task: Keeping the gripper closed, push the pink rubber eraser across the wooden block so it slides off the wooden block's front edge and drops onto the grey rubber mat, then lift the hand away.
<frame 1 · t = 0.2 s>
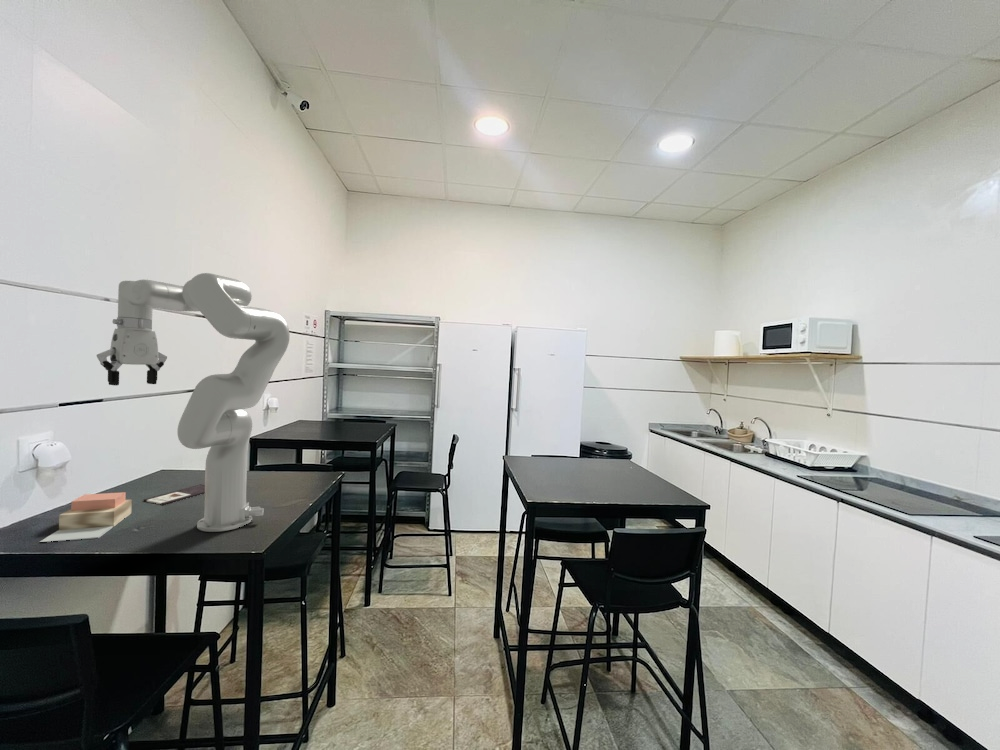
hand: (133, 384, 123), 36 cm above the table, tool pointing down, fingers open, 9 cm apart
chocolate bar: (183, 496, 138), on the table
mat: (77, 534, 105), on the table
pink rubber eraser: (99, 505, 115), point 4 cm above the table, touching wooden block
wooden block: (97, 521, 114), on the table
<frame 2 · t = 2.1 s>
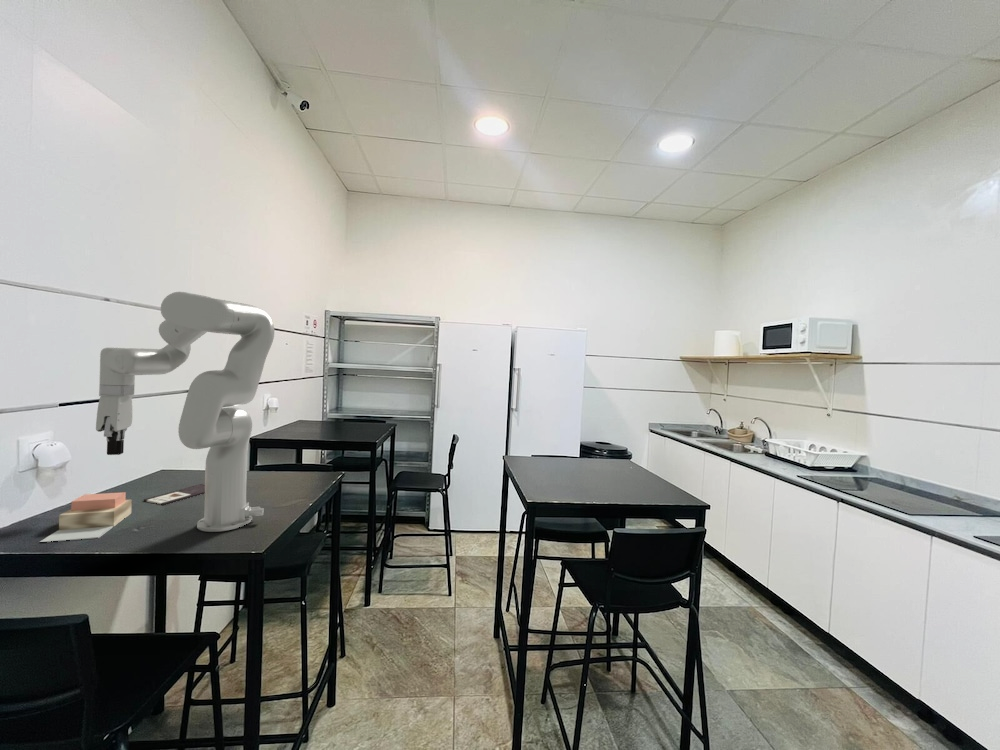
hand: (115, 454, 123), 16 cm above the table, tool pointing down, fingers closed
nothing on the table moved.
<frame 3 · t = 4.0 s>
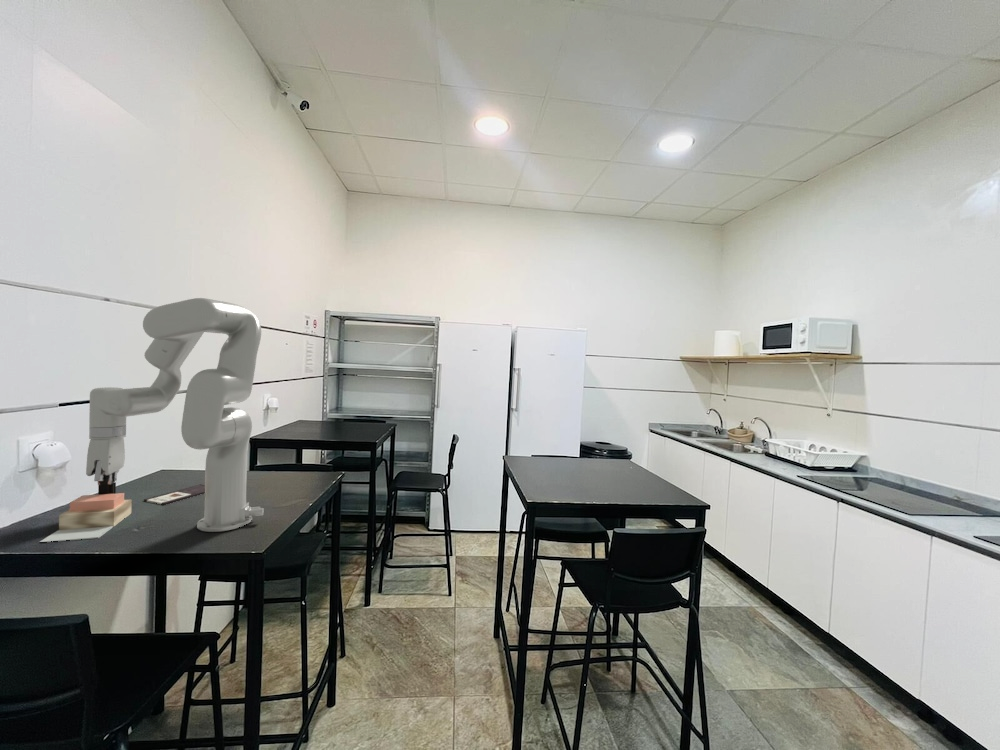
hand: (107, 497, 118), 5 cm above the table, tool pointing down, fingers closed
pink rubber eraser: (97, 506, 114), point 4 cm above the table, touching wooden block, gripper
everything else where it was.
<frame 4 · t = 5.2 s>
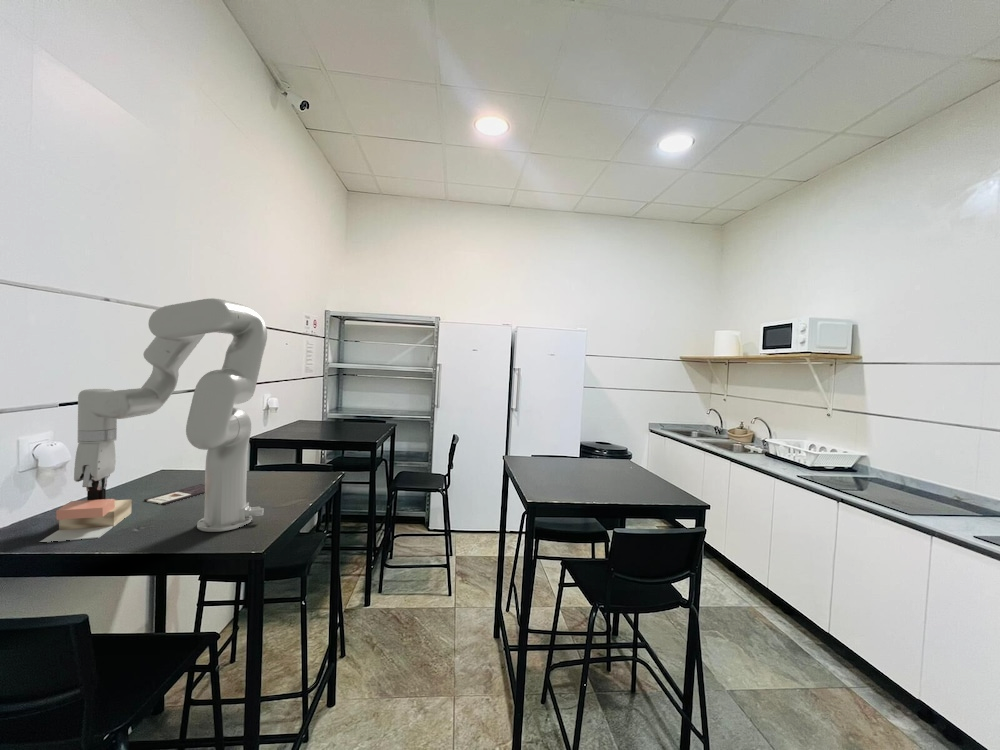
hand: (96, 504, 113), 5 cm above the table, tool pointing down, fingers closed
pink rubber eraser: (86, 513, 109), point 4 cm above the table, touching gripper
everything else where it was.
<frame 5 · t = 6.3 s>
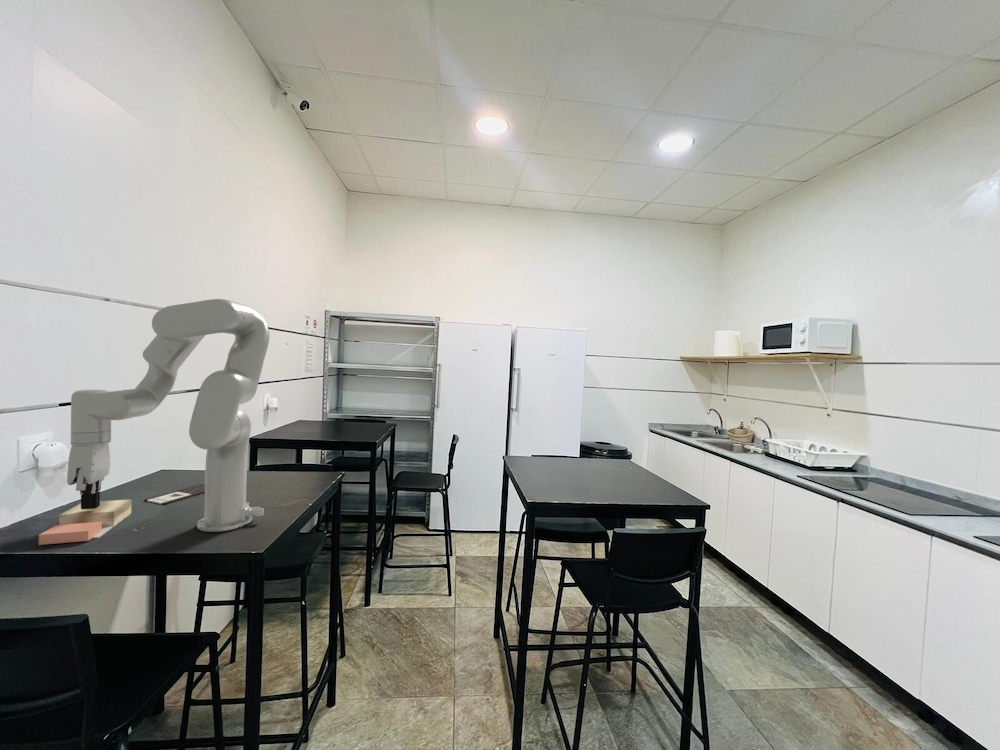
hand: (90, 507, 110), 5 cm above the table, tool pointing down, fingers closed
pink rubber eraser: (71, 527, 103), point 3 cm above the table, tilted 180°, touching mat
everything else where it was.
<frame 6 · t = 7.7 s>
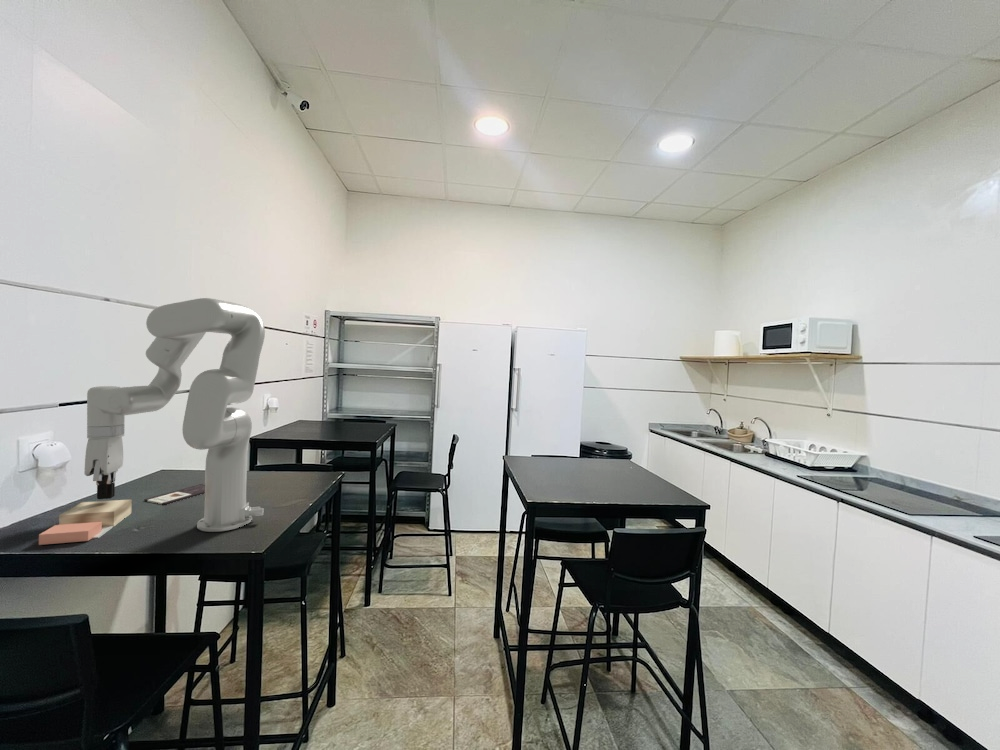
hand: (105, 497, 117), 5 cm above the table, tool pointing down, fingers closed
nothing on the table moved.
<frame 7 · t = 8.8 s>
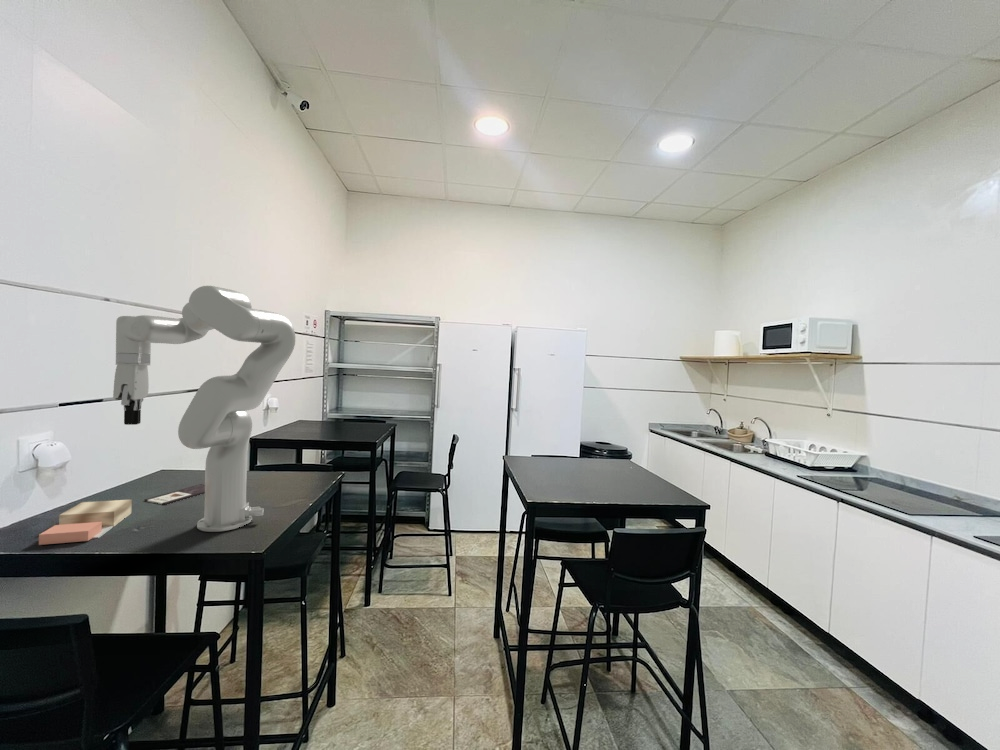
hand: (132, 423, 122), 25 cm above the table, tool pointing down, fingers closed
nothing on the table moved.
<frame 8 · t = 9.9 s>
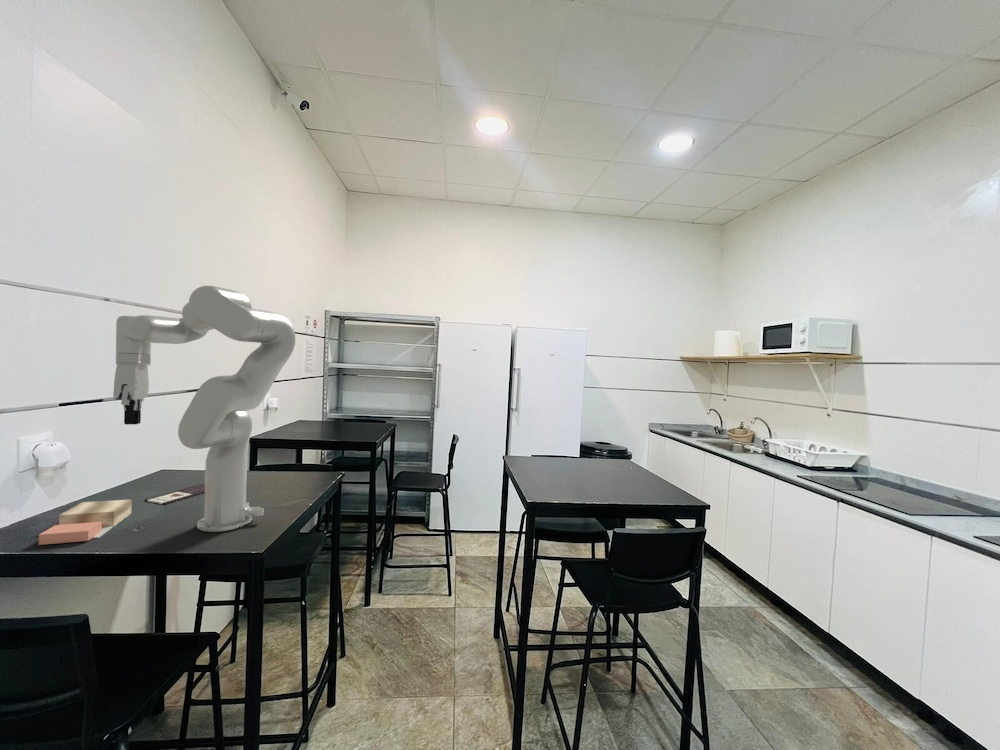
hand: (132, 423, 122), 25 cm above the table, tool pointing down, fingers closed
nothing on the table moved.
at the end: pink rubber eraser point 2.7 cm above the table; pink rubber eraser inside the target area on the mat (2.5 cm from its centre), point 2.7 cm above the mat's base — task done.
